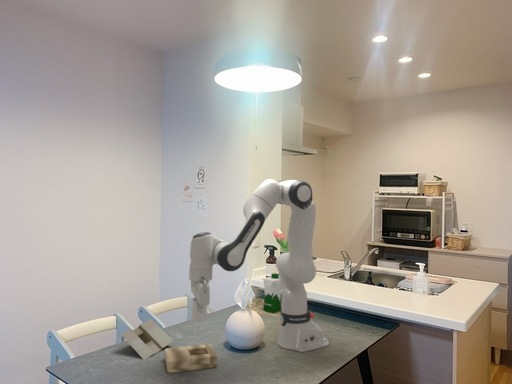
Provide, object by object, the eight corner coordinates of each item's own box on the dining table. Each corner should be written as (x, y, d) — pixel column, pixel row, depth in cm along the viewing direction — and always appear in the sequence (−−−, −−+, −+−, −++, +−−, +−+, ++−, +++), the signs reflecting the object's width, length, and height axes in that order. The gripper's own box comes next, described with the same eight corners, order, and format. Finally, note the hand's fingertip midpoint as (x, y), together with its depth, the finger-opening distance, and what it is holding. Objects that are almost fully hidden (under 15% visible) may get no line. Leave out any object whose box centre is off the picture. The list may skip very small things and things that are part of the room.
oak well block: (210, 353, 154) (210, 343, 154) (216, 366, 143) (216, 356, 143) (164, 358, 149) (165, 348, 149) (167, 373, 137) (168, 362, 137)
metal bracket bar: (204, 317, 149) (205, 297, 149) (206, 320, 145) (207, 300, 145) (191, 318, 148) (192, 297, 148) (193, 321, 144) (194, 300, 144)
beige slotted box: (167, 351, 165) (147, 324, 170) (175, 340, 161) (154, 313, 166) (136, 371, 152) (116, 341, 157) (144, 360, 148) (123, 329, 153)
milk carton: (283, 310, 211) (283, 274, 211) (273, 314, 205) (274, 277, 204) (270, 307, 217) (271, 272, 217) (260, 310, 210) (261, 274, 210)
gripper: (214, 280, 138) (213, 318, 138) (203, 269, 157) (202, 302, 157) (197, 281, 136) (195, 319, 136) (188, 269, 155) (187, 303, 155)
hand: (199, 310), depth 146 cm, fingers closed on metal bracket bar, 4 cm apart
